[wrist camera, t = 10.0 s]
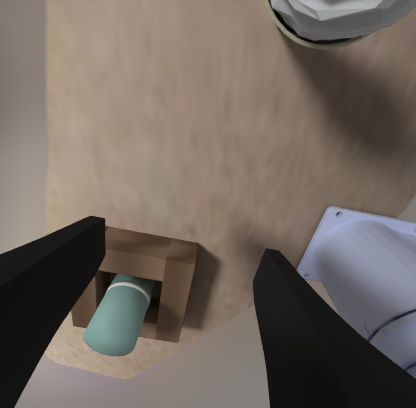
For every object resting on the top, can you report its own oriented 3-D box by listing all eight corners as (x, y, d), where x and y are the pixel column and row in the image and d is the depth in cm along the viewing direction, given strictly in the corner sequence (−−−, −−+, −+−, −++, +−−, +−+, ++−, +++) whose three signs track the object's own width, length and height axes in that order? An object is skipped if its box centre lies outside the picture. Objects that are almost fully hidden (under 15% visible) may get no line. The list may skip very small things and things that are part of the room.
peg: (158, 263, 23) (135, 330, 17) (156, 290, 25) (134, 359, 18) (118, 256, 23) (80, 321, 16) (119, 284, 24) (85, 352, 18)
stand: (198, 243, 21) (195, 265, 19) (182, 317, 26) (178, 342, 24) (82, 221, 21) (62, 241, 18) (88, 301, 26) (73, 325, 23)
